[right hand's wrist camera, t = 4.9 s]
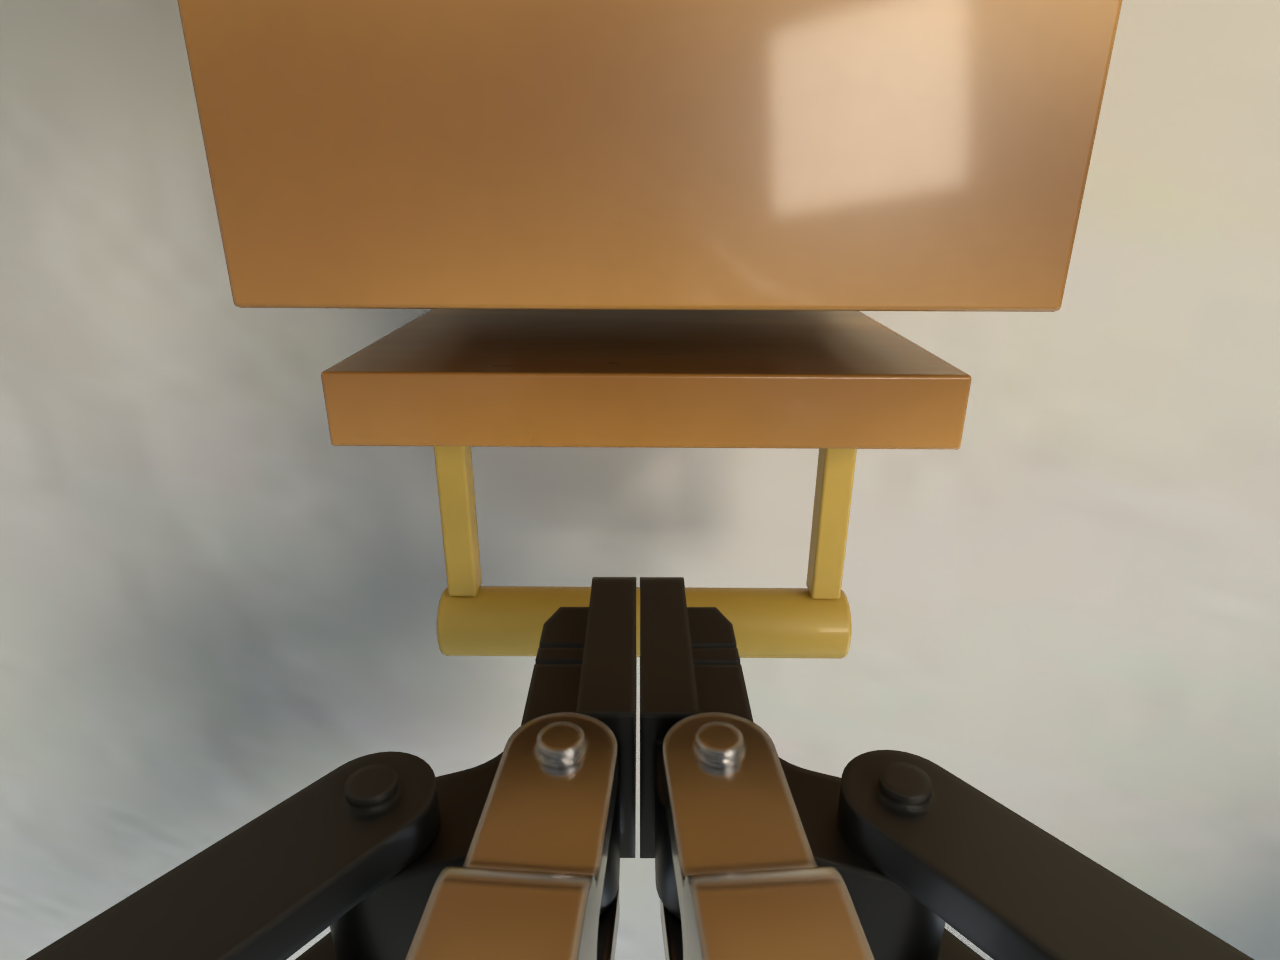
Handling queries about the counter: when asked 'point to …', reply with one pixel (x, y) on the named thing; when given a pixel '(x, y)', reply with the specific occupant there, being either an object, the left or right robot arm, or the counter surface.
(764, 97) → the cabinet
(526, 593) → the drawer
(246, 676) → the counter surface
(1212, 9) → the counter surface
